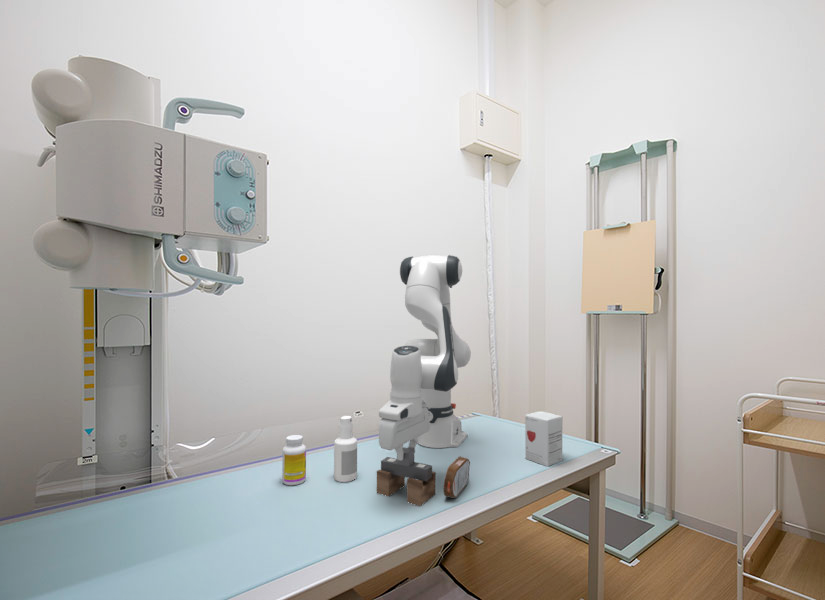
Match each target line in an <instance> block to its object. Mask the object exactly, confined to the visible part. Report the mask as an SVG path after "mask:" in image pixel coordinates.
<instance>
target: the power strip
mask: <svg viewBox="0 0 825 600" xmlns="http://www.w3.org/2000/svg"><path fill="white" fill-rule="evenodd" d="M402 450H403V452H404V453H405V459H403V460H402V461H401V460H398V459H397V457H396V458H395V457H391V456H386V457H385V458H383V459H382V460H380V470H383V471H387V472H390V473H391V474H394V475H398V476H403V477H405V478H407V479H408V478H413V479H416V480H422V481H428V480H429V479H430V478H431V477H432V472H433V465H432V464H426V463H421V462H417V461H415V453H414V449H410V448H407V447H404V446H403V448H402Z"/></svg>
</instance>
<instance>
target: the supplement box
mask: <svg viewBox="0 0 825 600" xmlns="http://www.w3.org/2000/svg"><path fill="white" fill-rule="evenodd" d="M524 419H525V423H524V424H525V430H524V432H525V434H524V435H525V443H524V444H525V446H524V448H525V449H524V451H525V453H524V454H525V455H524V456H525V457H524V459H525V460H528V461H532V462H534V463H537V464H539V465H542V466H545V467H550V466H552V465H554V464H557V463H559V462H562V461H563V416H562V415H558V414H554V413H551V412H547V411H542V410H539V411H535V412H531V413H527V414H525V416H524Z"/></svg>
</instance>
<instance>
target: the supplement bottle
mask: <svg viewBox="0 0 825 600" xmlns="http://www.w3.org/2000/svg"><path fill="white" fill-rule="evenodd" d="M285 438H286V439H285V442H286V445H284V447H283V448H282V468H281V469H282V473H281V474H282V477H281V478H282V480H281V481H282V483H283V484H284V485H287V486H296V485H300V484H303V483H304V482H305V481H306V479H307V477H306V476H307V447H306V445H305V444H303V441H304V439H303V438H304V437H303V435H301V434H300V435H299V434H291V435H288V436H287V437H285Z"/></svg>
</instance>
